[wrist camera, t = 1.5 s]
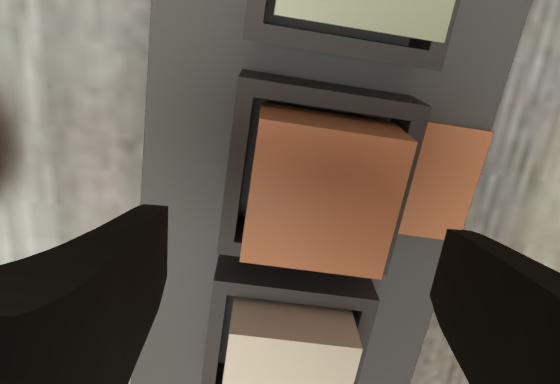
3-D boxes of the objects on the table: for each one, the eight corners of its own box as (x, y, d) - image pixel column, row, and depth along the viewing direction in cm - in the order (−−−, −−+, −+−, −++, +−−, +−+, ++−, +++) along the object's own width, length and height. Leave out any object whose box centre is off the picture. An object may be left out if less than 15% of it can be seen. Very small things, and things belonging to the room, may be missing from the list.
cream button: (349, 302, 20) (362, 348, 17) (328, 392, 22) (336, 447, 19) (234, 288, 20) (229, 333, 17) (222, 381, 21) (214, 435, 19)
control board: (558, -171, 17) (653, -233, 13) (388, 394, 26) (410, 466, 22) (178, -249, 16) (146, -344, 12) (140, 368, 25) (114, 438, 21)
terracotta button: (393, 122, 17) (417, 142, 14) (364, 241, 19) (381, 279, 16) (260, 102, 17) (259, 118, 14) (243, 225, 19) (239, 261, 16)
